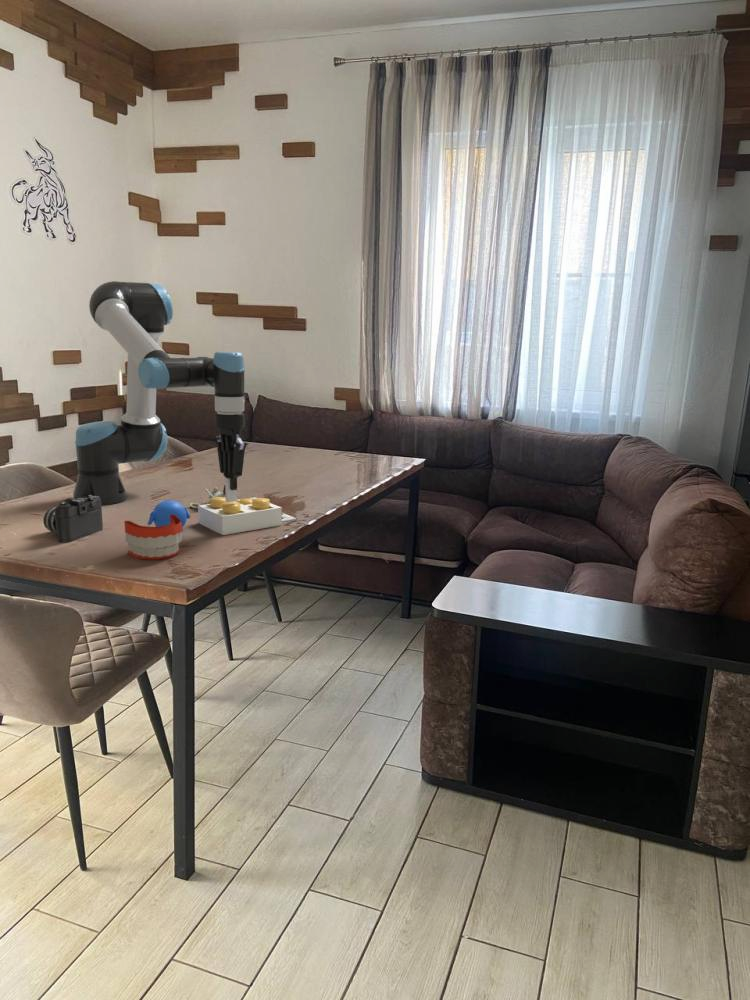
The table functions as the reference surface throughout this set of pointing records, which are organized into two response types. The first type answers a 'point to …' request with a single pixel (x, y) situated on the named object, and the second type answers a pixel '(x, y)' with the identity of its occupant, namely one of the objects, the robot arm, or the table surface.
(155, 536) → the toy
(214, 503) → the button far left
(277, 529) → the table surface
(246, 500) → the button far right
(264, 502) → the button near right
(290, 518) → the card
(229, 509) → the button near left
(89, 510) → the camera
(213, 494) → the toy dog
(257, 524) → the button board
